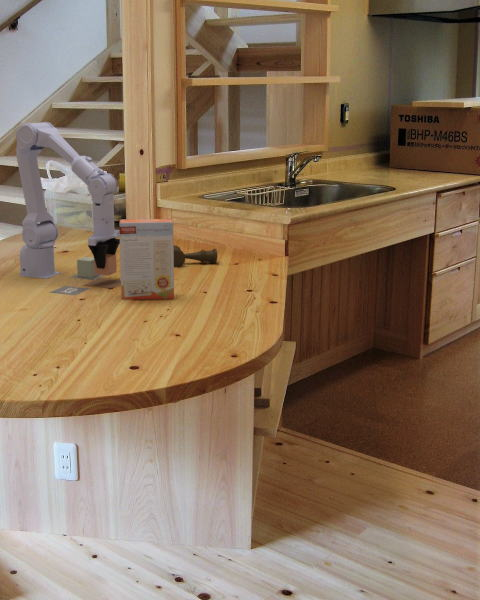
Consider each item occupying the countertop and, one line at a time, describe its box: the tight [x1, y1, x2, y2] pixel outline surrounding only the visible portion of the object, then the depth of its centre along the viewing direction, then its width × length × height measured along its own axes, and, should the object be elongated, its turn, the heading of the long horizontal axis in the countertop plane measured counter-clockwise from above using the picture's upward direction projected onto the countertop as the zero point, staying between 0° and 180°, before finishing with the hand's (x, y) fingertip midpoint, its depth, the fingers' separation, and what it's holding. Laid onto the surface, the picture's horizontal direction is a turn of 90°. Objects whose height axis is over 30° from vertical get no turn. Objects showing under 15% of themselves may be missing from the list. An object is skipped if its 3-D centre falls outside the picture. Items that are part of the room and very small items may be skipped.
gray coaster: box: [69, 274, 105, 281], centre depth 233 cm, size 8×8×1 cm
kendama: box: [173, 244, 218, 268], centre depth 251 cm, size 6×10×20 cm
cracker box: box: [118, 218, 175, 301], centre depth 209 cm, size 14×6×21 cm, turn 97°
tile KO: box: [48, 285, 90, 296], centre depth 216 cm, size 8×8×1 cm
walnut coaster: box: [84, 277, 121, 289], centre depth 224 cm, size 9×9×1 cm
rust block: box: [94, 254, 117, 276], centre depth 223 cm, size 4×4×5 cm
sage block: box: [76, 256, 99, 278], centre depth 232 cm, size 4×4×5 cm
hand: (105, 266), depth 223 cm, fingers closed on rust block, 4 cm apart
